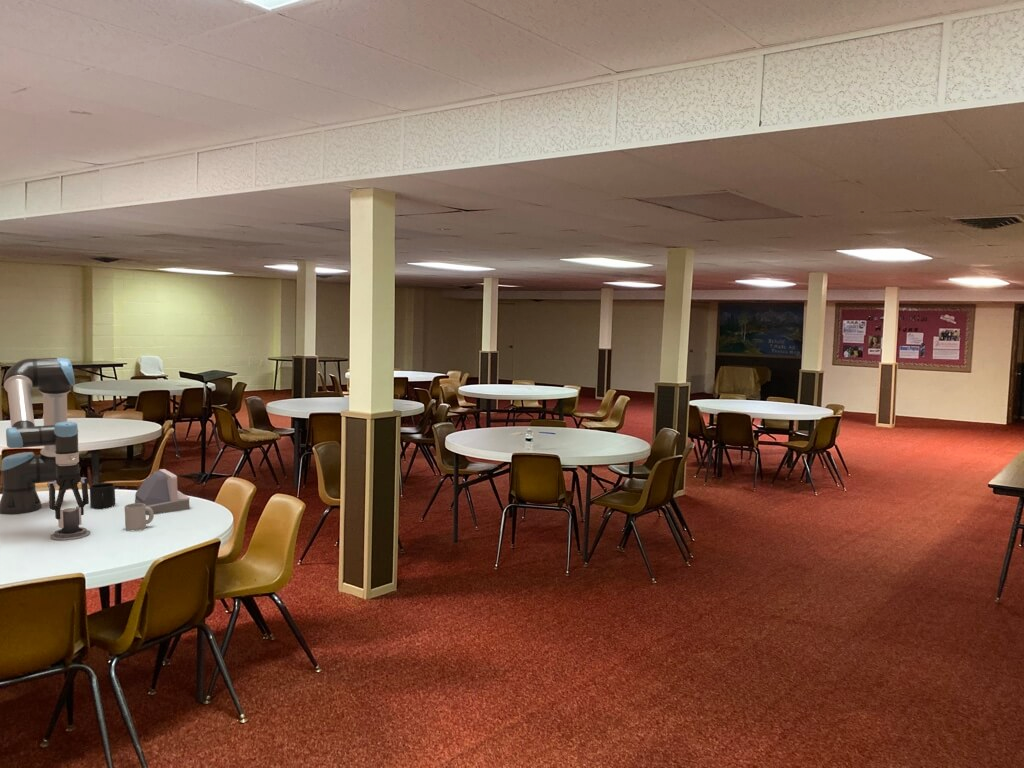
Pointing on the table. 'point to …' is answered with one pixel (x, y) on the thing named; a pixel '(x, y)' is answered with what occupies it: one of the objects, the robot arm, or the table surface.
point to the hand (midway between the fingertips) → (70, 525)
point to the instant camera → (161, 493)
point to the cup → (137, 516)
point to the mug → (102, 495)
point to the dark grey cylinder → (70, 521)
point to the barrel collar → (61, 536)
